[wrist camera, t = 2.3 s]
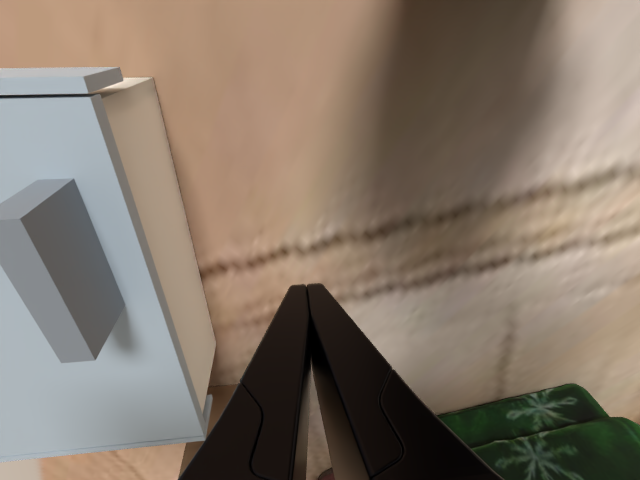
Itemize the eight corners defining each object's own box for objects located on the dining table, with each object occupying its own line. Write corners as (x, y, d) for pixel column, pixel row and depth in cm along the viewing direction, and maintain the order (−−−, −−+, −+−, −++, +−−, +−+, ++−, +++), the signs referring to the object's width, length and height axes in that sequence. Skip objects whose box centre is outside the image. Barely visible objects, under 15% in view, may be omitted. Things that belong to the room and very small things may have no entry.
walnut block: (267, 380, 25) (265, 469, 20) (272, 419, 28) (271, 506, 23) (198, 387, 25) (178, 479, 20) (210, 425, 28) (195, 515, 22)
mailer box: (152, 77, 14) (99, 99, 10) (216, 343, 23) (202, 416, 18) (-205, 82, 13) (-439, 110, 9) (4, 361, 21) (-63, 443, 17)
